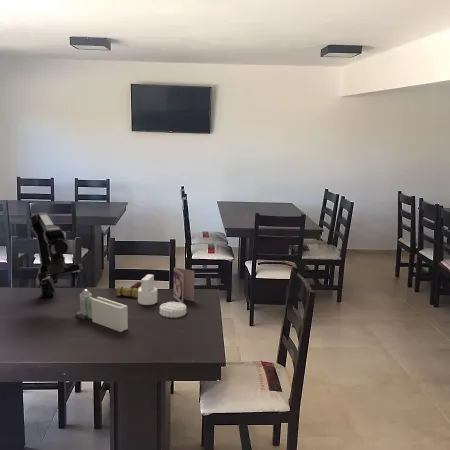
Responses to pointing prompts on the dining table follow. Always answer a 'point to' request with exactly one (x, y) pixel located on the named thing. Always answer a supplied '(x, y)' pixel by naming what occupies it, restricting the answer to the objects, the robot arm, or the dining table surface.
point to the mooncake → (173, 309)
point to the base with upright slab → (147, 291)
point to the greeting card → (183, 284)
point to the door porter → (83, 305)
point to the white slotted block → (110, 314)
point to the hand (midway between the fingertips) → (65, 290)
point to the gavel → (129, 290)
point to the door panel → (90, 306)
